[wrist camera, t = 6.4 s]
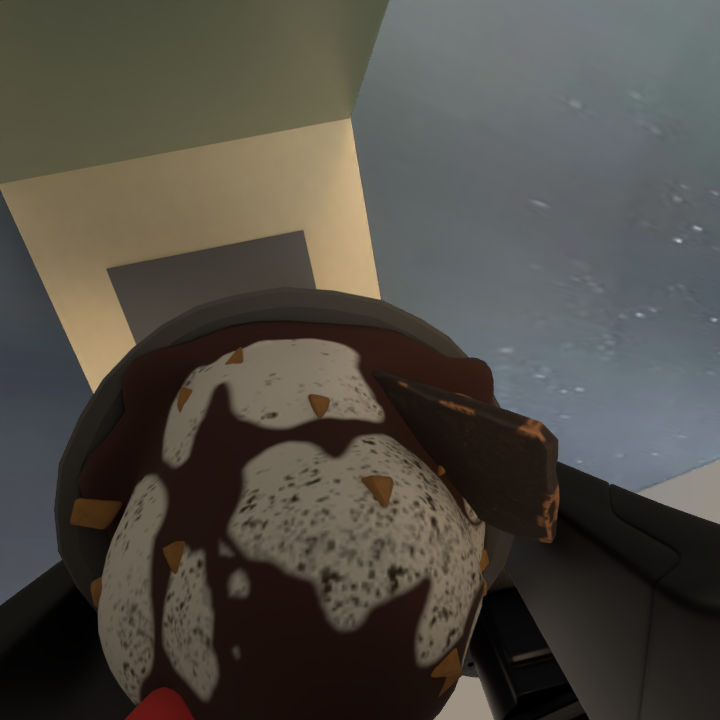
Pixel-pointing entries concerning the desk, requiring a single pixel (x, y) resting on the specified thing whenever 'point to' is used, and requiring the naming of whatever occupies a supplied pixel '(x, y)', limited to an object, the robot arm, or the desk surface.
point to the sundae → (296, 509)
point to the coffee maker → (182, 155)
